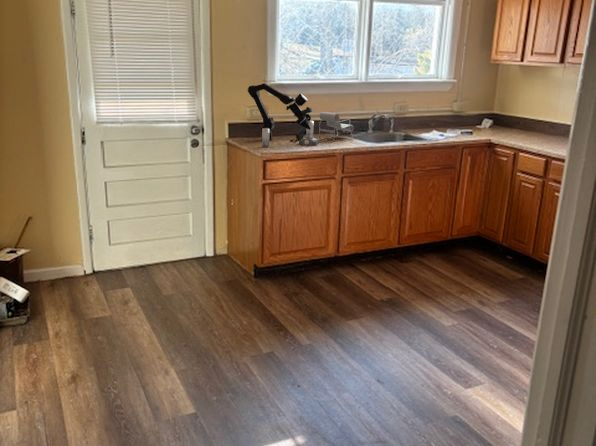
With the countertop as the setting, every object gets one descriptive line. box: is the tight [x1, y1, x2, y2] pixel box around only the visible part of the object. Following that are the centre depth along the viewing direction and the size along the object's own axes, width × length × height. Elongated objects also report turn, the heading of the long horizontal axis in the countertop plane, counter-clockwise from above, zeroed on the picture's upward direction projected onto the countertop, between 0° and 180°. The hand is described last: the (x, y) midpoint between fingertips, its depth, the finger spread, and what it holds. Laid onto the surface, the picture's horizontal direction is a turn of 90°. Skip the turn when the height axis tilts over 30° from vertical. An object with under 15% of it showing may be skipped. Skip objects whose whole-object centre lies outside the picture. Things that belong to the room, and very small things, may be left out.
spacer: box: [261, 127, 270, 149], centre depth 374 cm, size 5×5×12 cm
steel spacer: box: [305, 120, 315, 139], centre depth 391 cm, size 5×5×12 cm
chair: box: [318, 111, 355, 142], centre depth 415 cm, size 13×25×20 cm, turn 140°
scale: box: [298, 137, 321, 147], centre depth 392 cm, size 12×15×4 cm
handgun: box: [295, 126, 307, 141], centre depth 412 cm, size 2×17×12 cm, turn 149°
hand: (311, 128), depth 391 cm, fingers open, 9 cm apart
